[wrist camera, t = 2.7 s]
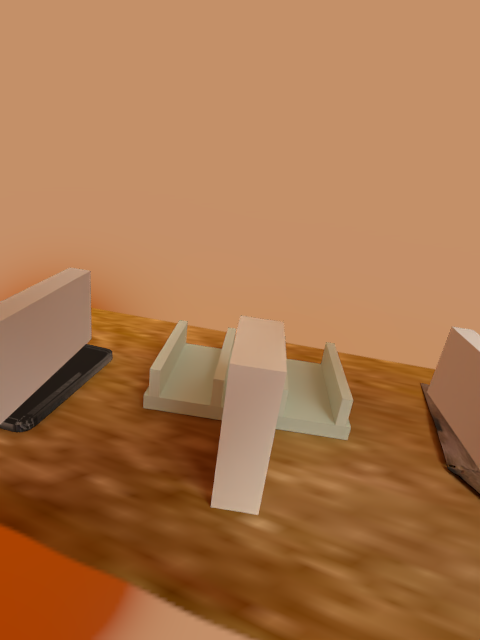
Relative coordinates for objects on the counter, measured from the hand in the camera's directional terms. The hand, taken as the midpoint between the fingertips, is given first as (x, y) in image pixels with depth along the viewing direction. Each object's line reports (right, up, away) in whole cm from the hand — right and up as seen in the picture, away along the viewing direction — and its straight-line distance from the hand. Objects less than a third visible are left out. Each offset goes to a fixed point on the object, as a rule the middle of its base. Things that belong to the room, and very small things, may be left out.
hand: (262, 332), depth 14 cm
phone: (-21, -6, +26) cm, 34 cm away
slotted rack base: (0, -7, +28) cm, 29 cm away
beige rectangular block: (-1, -12, +17) cm, 21 cm away
